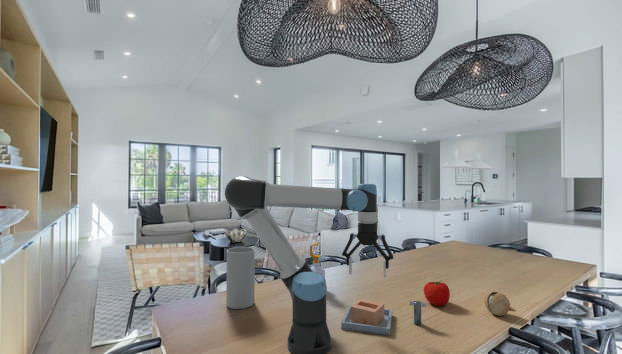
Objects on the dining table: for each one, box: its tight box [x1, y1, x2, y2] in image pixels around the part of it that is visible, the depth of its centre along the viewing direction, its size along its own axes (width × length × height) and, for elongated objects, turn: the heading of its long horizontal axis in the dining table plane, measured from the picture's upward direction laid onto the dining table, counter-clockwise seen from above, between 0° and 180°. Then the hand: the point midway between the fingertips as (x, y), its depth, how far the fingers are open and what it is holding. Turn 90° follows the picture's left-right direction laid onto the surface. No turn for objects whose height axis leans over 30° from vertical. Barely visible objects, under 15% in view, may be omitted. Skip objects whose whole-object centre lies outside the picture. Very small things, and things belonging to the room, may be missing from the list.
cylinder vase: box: [225, 246, 255, 310], centre depth 143 cm, size 12×12×25 cm
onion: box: [484, 291, 517, 317], centre depth 131 cm, size 9×9×15 cm
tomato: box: [423, 279, 451, 307], centre depth 143 cm, size 11×13×10 cm
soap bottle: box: [309, 242, 326, 279], centre depth 162 cm, size 9×9×25 cm
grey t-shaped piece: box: [409, 300, 427, 326], centre depth 123 cm, size 3×6×8 cm, turn 73°
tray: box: [340, 304, 393, 336], centre depth 125 cm, size 18×18×2 cm
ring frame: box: [351, 298, 385, 326], centre depth 124 cm, size 10×12×6 cm
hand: (367, 275), depth 125 cm, fingers open, 13 cm apart
